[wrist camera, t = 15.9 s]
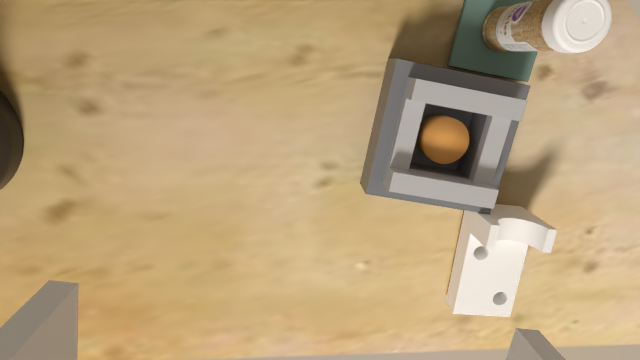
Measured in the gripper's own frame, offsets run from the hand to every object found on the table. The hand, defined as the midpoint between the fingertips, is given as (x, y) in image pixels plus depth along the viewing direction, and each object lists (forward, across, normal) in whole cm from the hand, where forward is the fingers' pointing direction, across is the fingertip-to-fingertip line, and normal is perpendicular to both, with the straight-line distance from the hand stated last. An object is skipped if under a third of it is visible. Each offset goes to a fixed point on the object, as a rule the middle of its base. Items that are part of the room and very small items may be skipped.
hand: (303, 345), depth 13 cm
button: (+34, +16, +2) cm, 38 cm away
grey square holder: (+36, +16, +2) cm, 39 cm away
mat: (+35, +20, +14) cm, 43 cm away
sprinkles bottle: (+35, +20, +14) cm, 43 cm away
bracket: (+36, +25, -11) cm, 45 cm away
